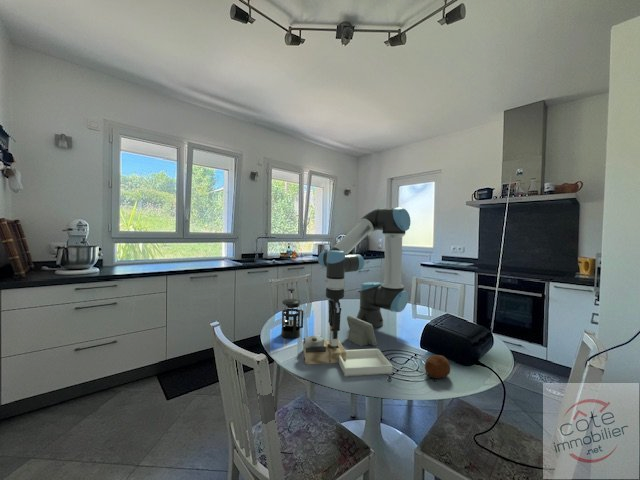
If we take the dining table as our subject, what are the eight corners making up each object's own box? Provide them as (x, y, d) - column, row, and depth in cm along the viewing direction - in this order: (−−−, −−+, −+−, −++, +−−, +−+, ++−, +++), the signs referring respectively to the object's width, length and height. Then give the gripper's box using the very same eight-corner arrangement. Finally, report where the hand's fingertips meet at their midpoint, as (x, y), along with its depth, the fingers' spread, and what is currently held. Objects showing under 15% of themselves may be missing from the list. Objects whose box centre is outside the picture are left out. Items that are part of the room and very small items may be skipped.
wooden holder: (338, 348, 117) (339, 331, 116) (345, 362, 105) (346, 343, 105) (302, 350, 114) (303, 333, 114) (305, 364, 102) (306, 345, 102)
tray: (377, 355, 111) (378, 348, 111) (392, 373, 98) (392, 365, 97) (336, 357, 108) (336, 350, 108) (345, 376, 95) (345, 368, 94)
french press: (284, 340, 123) (285, 292, 122) (276, 333, 131) (277, 288, 130) (306, 336, 129) (307, 289, 128) (298, 329, 137) (299, 285, 136)
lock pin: (335, 353, 112) (336, 325, 111) (337, 357, 109) (338, 328, 108) (328, 353, 111) (329, 326, 111) (330, 357, 108) (331, 328, 108)
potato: (419, 376, 96) (419, 356, 96) (431, 366, 104) (432, 347, 104) (442, 386, 90) (444, 365, 90) (454, 374, 98) (455, 355, 98)
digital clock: (378, 346, 120) (379, 323, 120) (361, 350, 116) (362, 326, 116) (358, 333, 135) (359, 313, 134) (343, 336, 131) (343, 315, 130)
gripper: (322, 283, 116) (321, 336, 117) (329, 292, 101) (328, 353, 101) (339, 283, 118) (337, 335, 119) (349, 292, 102) (347, 352, 103)
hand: (333, 343), depth 110 cm, fingers closed on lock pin, 3 cm apart
